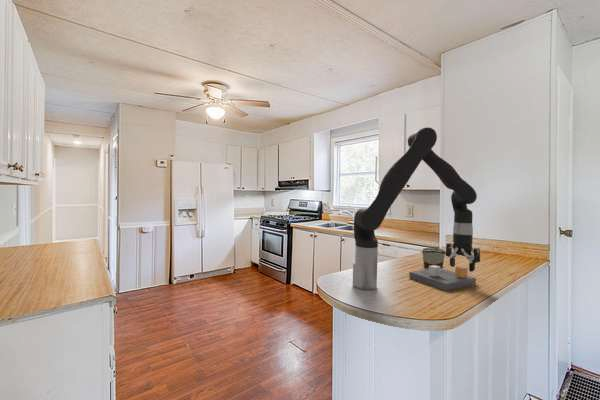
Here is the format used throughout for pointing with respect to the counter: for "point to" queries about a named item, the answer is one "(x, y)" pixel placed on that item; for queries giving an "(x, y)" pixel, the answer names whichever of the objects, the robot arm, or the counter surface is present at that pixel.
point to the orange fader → (461, 271)
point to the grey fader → (434, 270)
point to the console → (442, 279)
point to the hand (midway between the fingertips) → (461, 268)
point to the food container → (433, 257)
